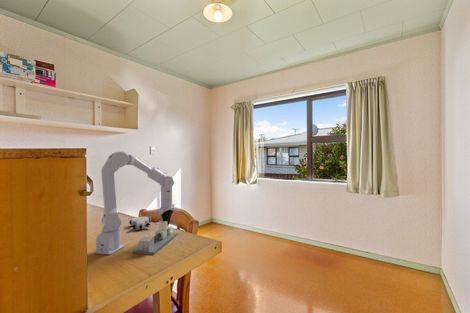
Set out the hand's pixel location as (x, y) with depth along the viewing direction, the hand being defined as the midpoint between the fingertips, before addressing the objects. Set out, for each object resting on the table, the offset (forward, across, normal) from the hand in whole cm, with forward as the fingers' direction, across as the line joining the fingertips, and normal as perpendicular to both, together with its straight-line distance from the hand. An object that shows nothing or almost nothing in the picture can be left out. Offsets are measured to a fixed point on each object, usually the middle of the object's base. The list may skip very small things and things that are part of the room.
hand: (166, 224), depth 117 cm
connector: (+5, -18, 0) cm, 19 cm away
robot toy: (+6, +11, +22) cm, 25 cm away
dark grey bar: (+3, -9, 0) cm, 10 cm away
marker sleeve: (+5, -5, 0) cm, 7 cm away
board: (+6, -9, 0) cm, 11 cm away
